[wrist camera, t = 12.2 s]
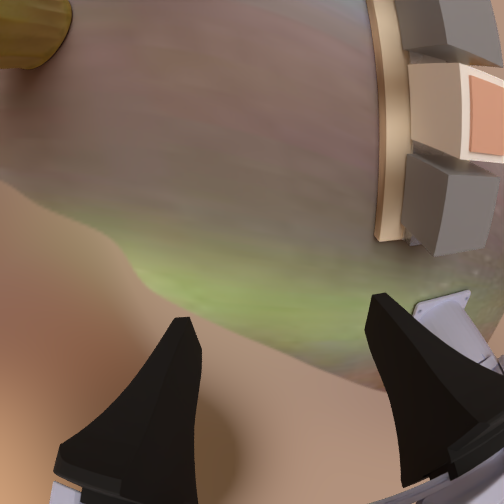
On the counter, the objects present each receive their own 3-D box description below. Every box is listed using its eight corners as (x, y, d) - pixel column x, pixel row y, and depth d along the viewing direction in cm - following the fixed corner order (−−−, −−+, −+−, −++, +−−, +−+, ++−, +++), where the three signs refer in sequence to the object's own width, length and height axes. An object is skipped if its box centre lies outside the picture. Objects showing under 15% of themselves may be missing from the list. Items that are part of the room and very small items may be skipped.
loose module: (457, 142, 14) (508, 164, 10) (410, 138, 14) (462, 160, 10) (457, 76, 11) (510, 82, 7) (407, 64, 12) (461, 62, 7)
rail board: (450, 226, 19) (490, 263, 14) (374, 235, 19) (408, 281, 14) (449, -3, 9) (497, -12, 4) (358, -31, 9) (397, -62, 4)
